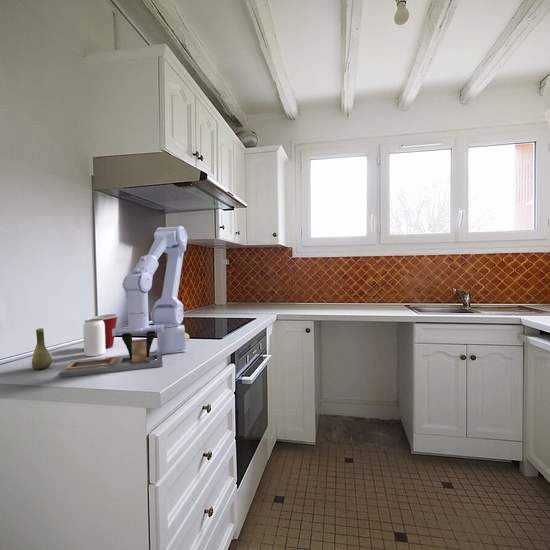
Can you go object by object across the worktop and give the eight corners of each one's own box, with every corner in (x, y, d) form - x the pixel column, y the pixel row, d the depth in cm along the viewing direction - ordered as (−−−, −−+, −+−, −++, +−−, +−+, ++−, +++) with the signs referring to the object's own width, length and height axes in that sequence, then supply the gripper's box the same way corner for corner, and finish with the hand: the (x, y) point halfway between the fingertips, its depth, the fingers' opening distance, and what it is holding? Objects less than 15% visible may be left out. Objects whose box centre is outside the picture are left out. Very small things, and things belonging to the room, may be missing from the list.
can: (96, 357, 111) (95, 321, 111) (79, 356, 112) (78, 321, 112) (109, 352, 117) (108, 318, 117) (93, 352, 119) (92, 318, 118)
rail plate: (162, 356, 110) (162, 351, 109) (162, 366, 98) (162, 360, 98) (72, 365, 101) (71, 360, 101) (60, 377, 90) (60, 371, 90)
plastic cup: (84, 347, 126) (83, 315, 126) (115, 342, 133) (113, 312, 133) (91, 352, 118) (89, 318, 118) (123, 347, 125) (122, 315, 125)
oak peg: (147, 361, 104) (146, 338, 104) (146, 364, 100) (146, 341, 100) (133, 362, 103) (132, 340, 103) (132, 366, 99) (131, 342, 99)
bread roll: (174, 344, 129) (173, 333, 129) (164, 340, 136) (164, 331, 136) (193, 340, 135) (193, 330, 135) (183, 337, 141) (182, 328, 141)
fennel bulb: (37, 366, 102) (36, 327, 102) (55, 364, 103) (54, 326, 103) (28, 371, 96) (26, 330, 96) (47, 370, 97) (45, 329, 97)
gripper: (109, 316, 95) (111, 363, 96) (163, 312, 100) (164, 357, 100) (113, 313, 102) (115, 357, 102) (163, 310, 107) (164, 352, 107)
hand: (139, 357), depth 102 cm, fingers closed on oak peg, 4 cm apart
